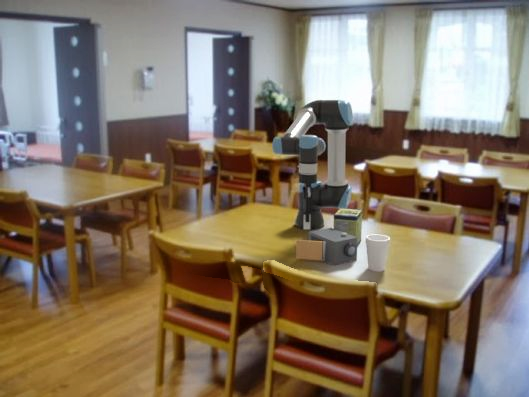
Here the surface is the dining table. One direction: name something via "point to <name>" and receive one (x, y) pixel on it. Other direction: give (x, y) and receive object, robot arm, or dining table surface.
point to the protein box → (349, 222)
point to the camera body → (336, 245)
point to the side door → (310, 250)
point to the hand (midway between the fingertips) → (306, 228)
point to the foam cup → (377, 251)
